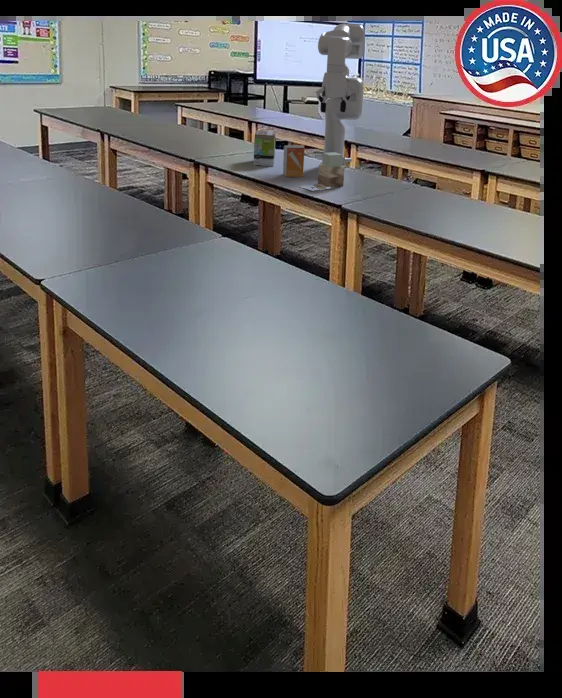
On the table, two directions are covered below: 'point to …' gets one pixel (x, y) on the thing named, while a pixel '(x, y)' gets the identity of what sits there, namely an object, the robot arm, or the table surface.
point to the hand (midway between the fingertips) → (332, 112)
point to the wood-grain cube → (331, 176)
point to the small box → (293, 161)
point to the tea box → (264, 148)
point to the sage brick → (332, 159)
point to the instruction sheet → (317, 187)
